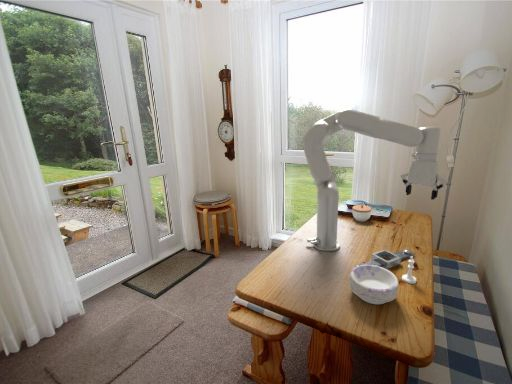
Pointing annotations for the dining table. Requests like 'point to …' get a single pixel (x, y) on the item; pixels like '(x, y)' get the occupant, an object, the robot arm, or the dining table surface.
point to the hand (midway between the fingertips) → (420, 196)
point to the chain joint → (394, 258)
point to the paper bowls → (374, 284)
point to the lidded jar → (361, 212)
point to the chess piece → (409, 273)
